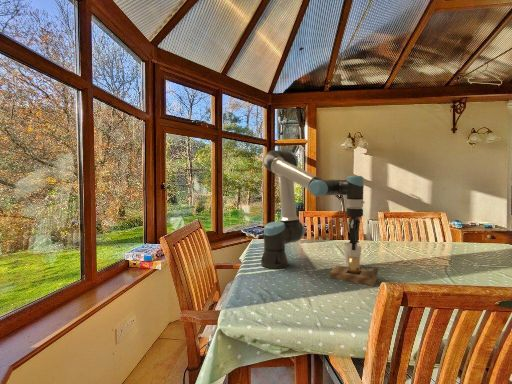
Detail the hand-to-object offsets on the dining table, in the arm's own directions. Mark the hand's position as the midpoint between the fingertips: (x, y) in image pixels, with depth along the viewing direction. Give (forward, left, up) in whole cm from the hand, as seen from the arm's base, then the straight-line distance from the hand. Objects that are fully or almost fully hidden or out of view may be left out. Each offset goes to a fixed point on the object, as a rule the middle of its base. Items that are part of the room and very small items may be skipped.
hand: (354, 256), depth 139 cm
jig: (0, 0, -11) cm, 11 cm away
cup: (-5, +19, -11) cm, 22 cm away
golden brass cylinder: (0, 0, -11) cm, 11 cm away
